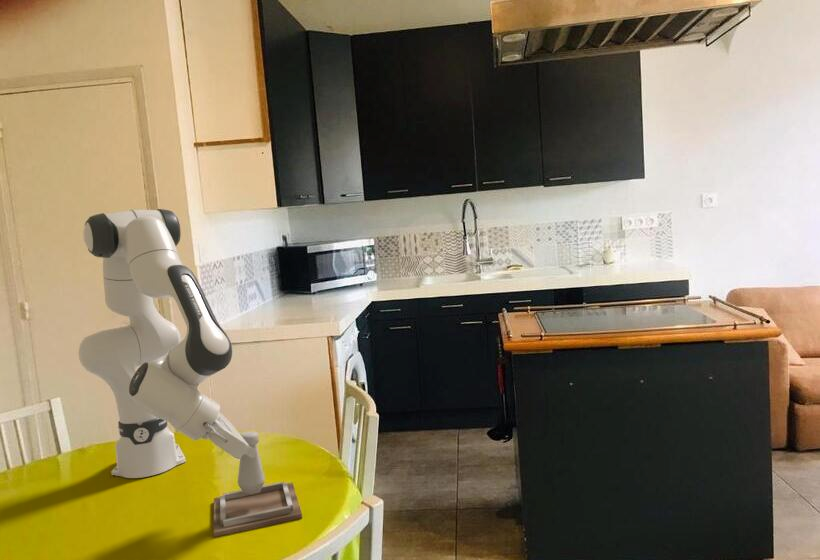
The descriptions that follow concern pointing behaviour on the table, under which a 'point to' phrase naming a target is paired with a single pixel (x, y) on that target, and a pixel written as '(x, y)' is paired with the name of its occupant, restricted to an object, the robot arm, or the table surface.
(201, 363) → the robot arm
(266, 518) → the socket plate
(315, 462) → the table surface
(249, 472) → the salt shaker
